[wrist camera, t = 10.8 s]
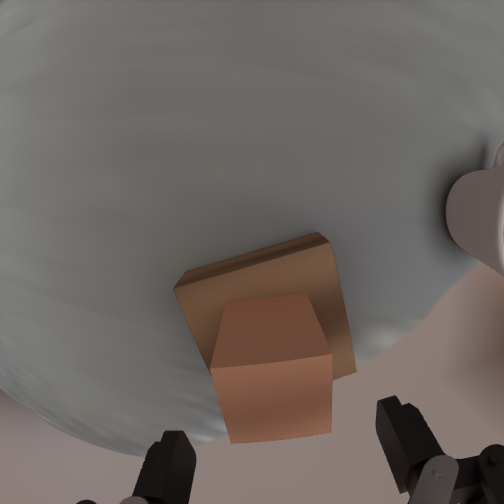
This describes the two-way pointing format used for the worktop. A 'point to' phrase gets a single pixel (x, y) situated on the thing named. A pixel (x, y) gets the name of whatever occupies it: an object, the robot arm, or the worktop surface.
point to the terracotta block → (272, 370)
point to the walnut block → (270, 292)
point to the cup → (479, 213)
